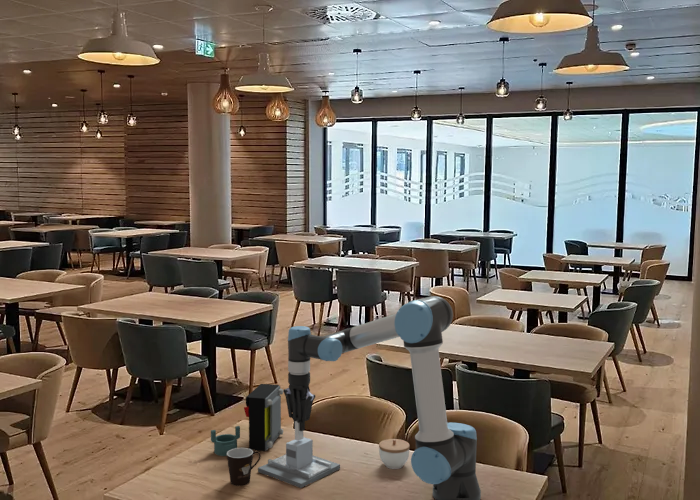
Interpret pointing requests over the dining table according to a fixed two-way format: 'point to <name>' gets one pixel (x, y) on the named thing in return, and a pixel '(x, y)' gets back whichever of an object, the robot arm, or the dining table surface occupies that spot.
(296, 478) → the mounting board
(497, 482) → the dining table surface
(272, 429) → the electrical component
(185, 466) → the dining table surface
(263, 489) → the dining table surface
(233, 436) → the bracket
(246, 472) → the coffee mug
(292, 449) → the block
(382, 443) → the lidded jar
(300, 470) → the din rail
